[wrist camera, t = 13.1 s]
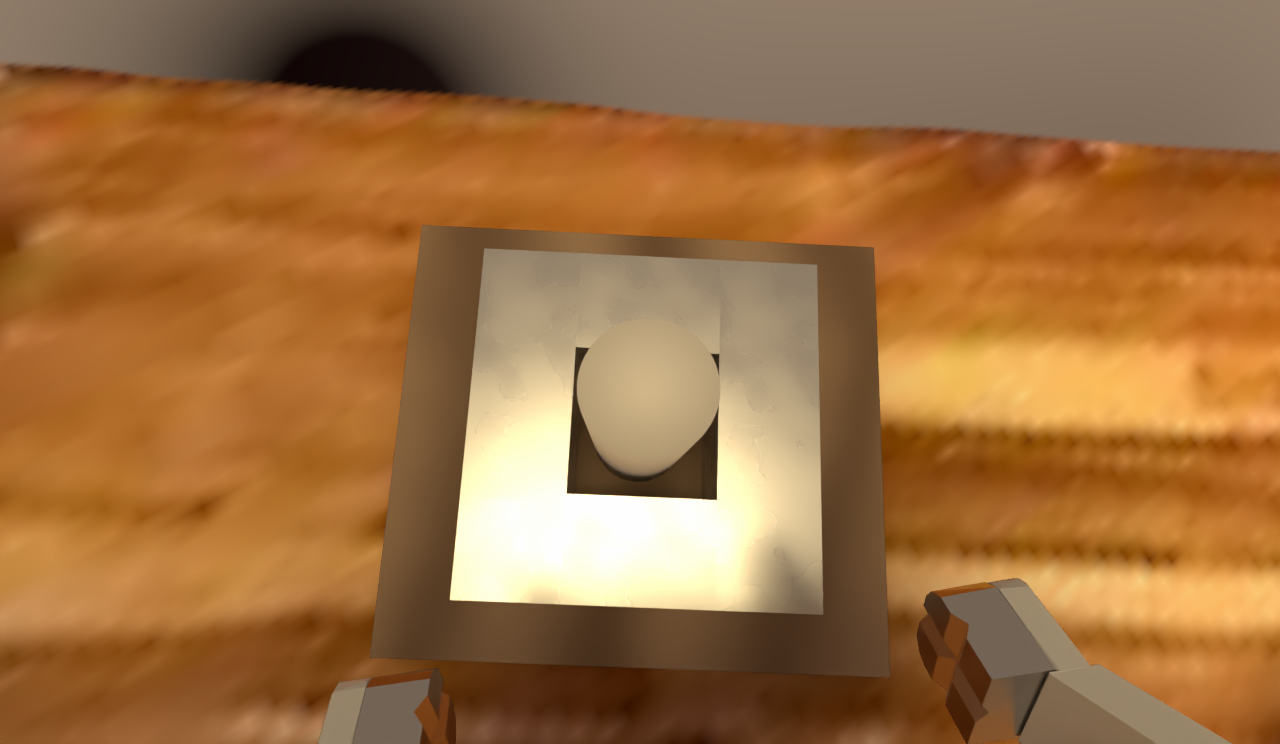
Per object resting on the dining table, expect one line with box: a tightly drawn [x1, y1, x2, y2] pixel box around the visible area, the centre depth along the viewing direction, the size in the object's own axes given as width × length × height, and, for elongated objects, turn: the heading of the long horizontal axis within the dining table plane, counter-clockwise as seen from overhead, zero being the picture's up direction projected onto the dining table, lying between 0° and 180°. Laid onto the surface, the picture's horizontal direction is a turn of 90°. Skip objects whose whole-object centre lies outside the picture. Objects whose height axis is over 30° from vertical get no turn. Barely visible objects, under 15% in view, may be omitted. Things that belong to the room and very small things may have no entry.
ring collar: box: [450, 248, 823, 615], centre depth 22 cm, size 11×11×4 cm
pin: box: [577, 318, 720, 482], centre depth 19 cm, size 3×3×10 cm
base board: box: [370, 225, 890, 677], centre depth 25 cm, size 18×16×1 cm
